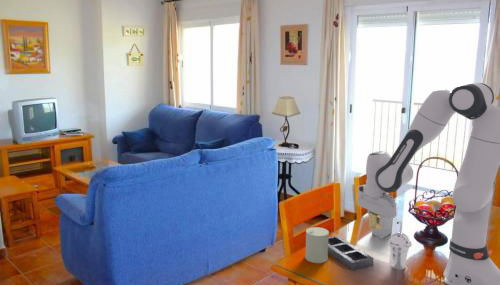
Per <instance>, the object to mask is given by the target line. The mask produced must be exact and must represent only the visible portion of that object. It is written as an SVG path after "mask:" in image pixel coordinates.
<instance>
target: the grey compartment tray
mask: <svg viewBox="0 0 500 285" xmlns="http://www.w3.org/2000/svg"><path fill="white" fill-rule="evenodd" d="M328 255H330V256H331V257H333V258H335V259H336V260H337V261H338V262H340V263H341V264H342V265H344V266H345V267H347V268H348V269H349V270H351V271H353V270H357V269H361V268H362V269H363V268H367V267H371V266H374V257H372V256H371V255H369V254H368V253H366V252H365V251H363V250H361V249H360V248H358V247H357V246H355V245H353V244H352V243H350V242H349V241H347V240H345V239H344V238H343V237H340V236H339V235H335V236H334V235H333V236H328ZM357 259H358V260H357Z"/></svg>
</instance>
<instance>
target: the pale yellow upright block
mask: <svg viewBox="0 0 500 285" xmlns="http://www.w3.org/2000/svg"><path fill="white" fill-rule="evenodd" d="M380 218H381V217H380V215H379V214H377V213H374V212H372V213H369V215H368V220H369V221H368V228H371V229H372V228H373V229H375V230H376V229H381V228H383V225H379V224H378V220H380Z"/></svg>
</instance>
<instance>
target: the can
mask: <svg viewBox="0 0 500 285" xmlns="http://www.w3.org/2000/svg"><path fill="white" fill-rule="evenodd" d="M329 234H330V232H329V230H328V229H326V228H324V227H319V226H313V227H308V228H306V230H305V256H304V258H305V261H308V262H310V263H311V264H323V263H326V262H328V260H329V257H328V256H329V253H328V237H330V235H329Z"/></svg>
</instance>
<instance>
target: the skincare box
mask: <svg viewBox="0 0 500 285" xmlns="http://www.w3.org/2000/svg"><path fill="white" fill-rule="evenodd" d="M393 223H394V218H391V219H388V218H385V219H384V224H383V228H381V229H376V230H375V229H373V228H371V235H373V236H375V237H378V238H381V239H384V238H385V237H387V236H389V235H391V234H392V235H393V225H394V224H393Z"/></svg>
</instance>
